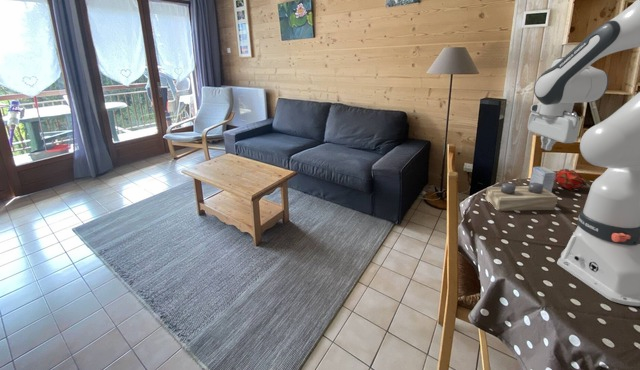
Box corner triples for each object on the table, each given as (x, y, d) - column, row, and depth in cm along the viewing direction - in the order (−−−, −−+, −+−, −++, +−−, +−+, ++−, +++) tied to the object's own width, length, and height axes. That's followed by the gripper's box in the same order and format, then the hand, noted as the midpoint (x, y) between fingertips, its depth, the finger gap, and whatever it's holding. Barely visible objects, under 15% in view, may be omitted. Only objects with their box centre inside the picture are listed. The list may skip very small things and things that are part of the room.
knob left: (514, 205, 117) (518, 187, 114) (502, 205, 117) (506, 187, 114) (507, 200, 121) (511, 183, 118) (496, 200, 121) (499, 183, 118)
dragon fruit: (550, 185, 138) (579, 199, 129) (544, 178, 133) (574, 192, 124) (564, 169, 137) (594, 182, 127) (558, 161, 132) (590, 174, 122)
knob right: (541, 205, 117) (546, 187, 114) (529, 205, 117) (534, 187, 114) (534, 200, 121) (538, 182, 118) (522, 200, 121) (526, 182, 118)
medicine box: (551, 193, 127) (556, 172, 124) (539, 193, 127) (545, 173, 124) (539, 185, 134) (544, 166, 131) (528, 186, 135) (533, 166, 131)
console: (554, 209, 114) (558, 196, 112) (498, 210, 115) (500, 197, 113) (537, 197, 124) (540, 185, 122) (485, 198, 124) (487, 187, 122)
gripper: (590, 114, 96) (577, 158, 101) (545, 104, 115) (537, 142, 120) (568, 114, 96) (557, 158, 101) (528, 105, 115) (520, 142, 120)
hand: (545, 149), depth 111 cm, fingers closed
